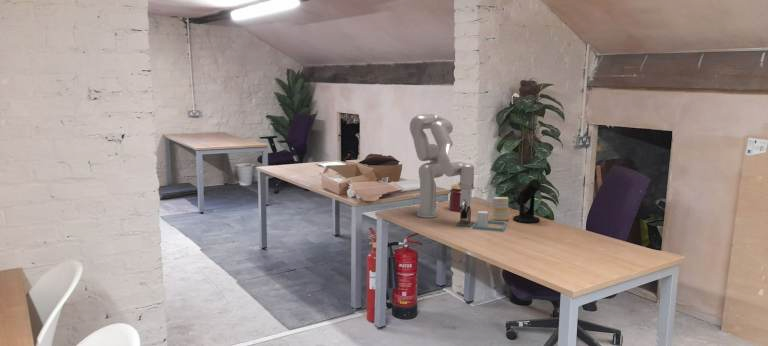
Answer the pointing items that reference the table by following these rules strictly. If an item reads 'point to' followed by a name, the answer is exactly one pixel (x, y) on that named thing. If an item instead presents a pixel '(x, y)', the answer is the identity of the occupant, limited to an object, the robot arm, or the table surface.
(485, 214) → the grey block
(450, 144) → the robot arm
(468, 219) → the walnut block
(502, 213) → the supplement box
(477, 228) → the tray
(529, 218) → the microphone
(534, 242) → the table surface
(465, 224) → the mat
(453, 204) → the canister
